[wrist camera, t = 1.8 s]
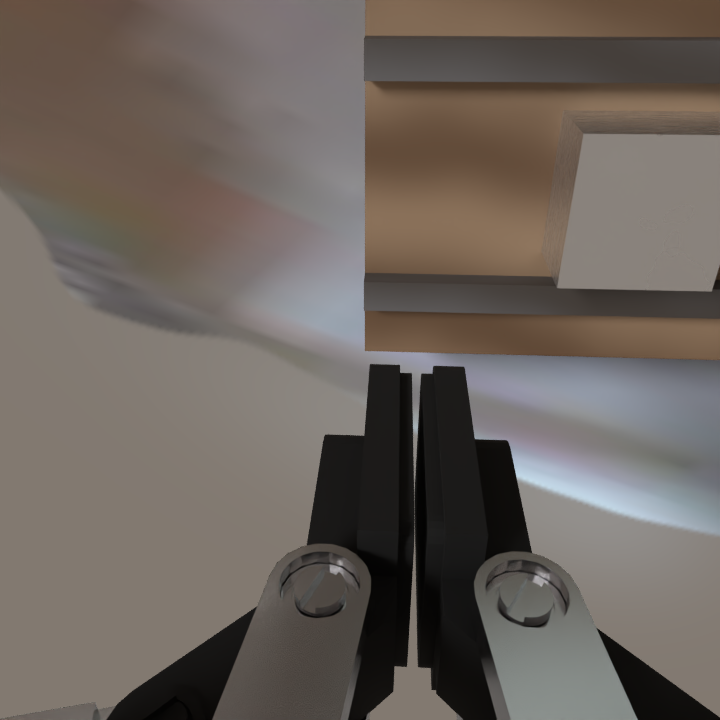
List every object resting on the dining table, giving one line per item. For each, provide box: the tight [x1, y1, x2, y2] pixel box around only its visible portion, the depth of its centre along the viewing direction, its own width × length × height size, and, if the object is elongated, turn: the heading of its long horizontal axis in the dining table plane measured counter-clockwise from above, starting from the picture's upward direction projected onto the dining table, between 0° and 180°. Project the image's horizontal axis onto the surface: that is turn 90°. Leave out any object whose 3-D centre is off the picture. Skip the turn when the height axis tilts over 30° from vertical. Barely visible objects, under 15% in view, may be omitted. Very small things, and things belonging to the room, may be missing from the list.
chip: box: [541, 110, 720, 292], centre depth 22 cm, size 5×5×3 cm
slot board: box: [364, 0, 720, 360], centre depth 25 cm, size 14×20×6 cm
